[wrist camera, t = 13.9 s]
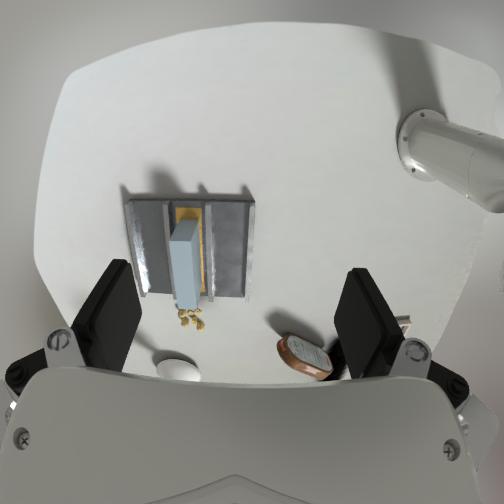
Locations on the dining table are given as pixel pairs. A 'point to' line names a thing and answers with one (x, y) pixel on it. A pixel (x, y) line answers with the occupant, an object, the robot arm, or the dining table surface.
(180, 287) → the blue-grey rectangular block
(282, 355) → the tin
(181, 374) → the flower in vase
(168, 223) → the rack
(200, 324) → the dice set
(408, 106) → the dining table surface
